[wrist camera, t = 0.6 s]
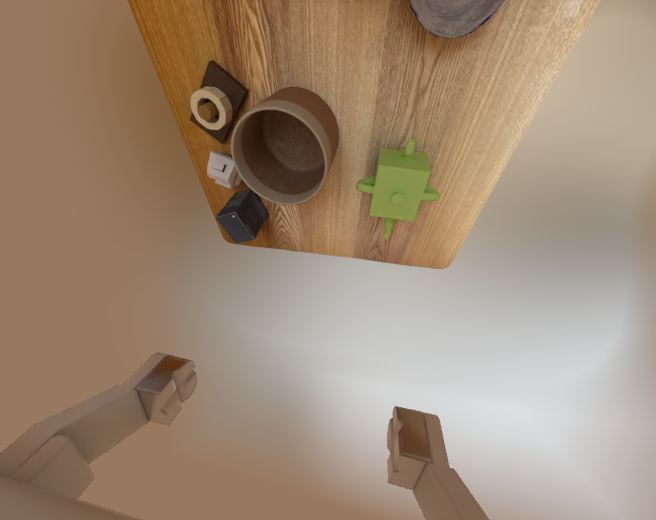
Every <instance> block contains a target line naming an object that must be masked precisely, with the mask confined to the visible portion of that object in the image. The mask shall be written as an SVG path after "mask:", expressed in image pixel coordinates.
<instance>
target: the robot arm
mask: <svg viewBox="0 0 656 520" xmlns="http://www.w3.org/2000/svg"><path fill="white" fill-rule="evenodd" d="M194 367H195V365H194V361H192V360H188V359H183V358H179V357H175V356H171V355H168V354H163V353H156V354H154V355H152V356H151V357H150V358H149V359H148V360H147V361H146V362H145V363H144V364H143V365H142V366H141V367H140V368H139V369H138V370H137V371H136V372H135V373H134V374H133V375H132V376H131V377H130V378H129V379H127V381H126V382H124V384H122V385H121V386H118V385H117V386H115V387H113V388H111V389H109V390H106V391H104V392H102V393H100V394H98V395H96V396H94V397H92V398H90V399H88V400H85V401H83V402H81V403H79V404H77V405H75V406H73V407H71V408H69V409H66V410H64V411H62V412H60V413H58V414H56V415H54V416H52V417H50V418H48V419H45V420H43V421H41V422H39V423H37V424H35V425H33V426H32V427H31V428H30V429H29V430H27V431H26V432H25V433H24V434H23V435H21V436H20V437H19V438H18V439H17V440H16V441H14V442H13V443H12V444H11V445H10V446H8V447H7V448H6V449H5V450H4V451H2V452H1V453H0V520H142V519H139V518H136V517H133V516H130V515H126V514H123V513H120V512H117V511H114V510H111V509H108V508H104V507H101V506H98V505H95V504H91V503H88V502H85V501H82V500H79V499H78V498H79V497H80V496H81V494H82V493H83V492H84V491H85V489H86V488H87V487H88V486H89V485H90V483H91V482H92V481H93V480H94V473H93V471H92V469H91V468H90V466H89V465H88V464H90V463H91V462H92V461H94V460H95V459H97V458H98V457H99V456H101V455H102V454H104V453H105V452H107V451H108V450H110V449H111V448H112V447H114V446H115V445H117V444H118V443H120V442H121V441H122V440H124V439H125V438H127V437H128V436H130V435H131V434H133V433H134V432H135V431H137V430H138V429H140V428H141V427H142V426H144V425H145V424H147V423H148V422H149V421H152V422H157V423H161V424H165V425H170V424H171V422H172V421H173V419H174V418H175V417H176V415H177V414H178V413H179V411H180V410H181V403H182V402H183V401H185V400H187V399H188V398H189V397H190V396H191V394H192V393H193V392H194V389H195V387H196V384H197V374H196V373H195V372H194V371H193V368H194ZM387 447H388V449H389V451H390V455H389V458H388V483H390V484H394V485H397V486H400V487H404V488H407V489H411V490H413V493H414V495H415V497H416V499H417V502H418V503H419V506H420V508H421V510H422V512H423V514H424V516H425V518H426V520H489V519H488V517H487V516H486V514H485V513H484V511H483V510H482V509H481V507H480V506H479V504H478V503H477V501H476V500H475V498H474V497H473V496H472V494H471V493H470V491H469V490H468V488H467V487H466V486H465V484H464V483H463V481H462V480H461V478H460V477H459V475H458V474H457V473H456V471H455V470H454V469H452V468H449V463H448V458H447V453H446V449H445V444H444V439H443V434H442V430H441V425H440V420H439V418H438V416H436V415H432V414H428V413H423V412H420V411H416V410H411V409H406V408H401V407H397V406H395V407H394V409H393V418H392V419H390V422H389V426H388V432H387Z"/></svg>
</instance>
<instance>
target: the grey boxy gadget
mask: <svg viewBox="0 0 656 520" xmlns="http://www.w3.org/2000/svg"><path fill="white" fill-rule="evenodd" d="M207 175H208V177H209V178H212V179H215V180H216V181H215V183H217V184H220V185H223V186H225V187H227V188H230V189H232V188H233V186H234V185H235V186H237V185H239V184H240V182H241V180H242V178H241V177H240V175H239V173H238V171H237V169H236V167H235V165H234V162H233V158H232V157H230V156H228V155H226V154H223V153H221V152H218V151H211V152H210V158H209V162H208V168H207Z"/></svg>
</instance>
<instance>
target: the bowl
mask: <svg viewBox="0 0 656 520" xmlns="http://www.w3.org/2000/svg"><path fill="white" fill-rule="evenodd" d="M409 1H410V6H411V9H412V11H413V13H414V15H415V17H416V18H417V20H418V22H419V23H420V24H421V25H422V27H423V28H424V29H425V30H427V31H428V32H429V33H431V34H432V35H434V36H436V37H440V38H445V39H455V38H458V37H462V36H465V35H468V34H470V33H471V32H473V31H474V30H475V29H477V28H478V27H479V26H481V25H482V24H484V23H485V22H486V21H487V20H488V19H489V18H490V17H491V16H492V15H493V14H494V13H496V11H497V10H498V9H499V7H500V6H501V5H502V3H503V2H504V1H505V0H409Z"/></svg>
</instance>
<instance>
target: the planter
mask: <svg viewBox="0 0 656 520" xmlns="http://www.w3.org/2000/svg"><path fill="white" fill-rule="evenodd" d="M337 146H338V127H337V123H336V119H335V117H334V115H333V113H332V111H331V109H330V108H329V106H328V105H327V104H326V103H325V102H324V101H323V100H322V99H321V98H320V97H319V96H318V95H316V94H315V93H313V92H311V91H309V90H306V89H303V88H298V87H289V88H284V89H281V90H279V91H277V92H275V93H274V94H272V95H271V96H270V97H268V98H267V99H266V100H264V101H263V102H261V103H260V104H259V105H257V106H256V107H254V108H253V109H252V110H250V111H249V112H248V113H246V114H245V115H244V116H243V117H242V118H241V119H240V120H239V121H238V123H237V124H236V126H235V128H234V131H233V134H232V139H231V153H232V158H233V162H234V165H235V167H236V169H237V171H238V173H239V175H240V177H241V178H242V180H243V181H244V182H245V183H246V185H247V186H248V187H249V188H250V189H251V190H253V191H254V192H255V193H256V194H258V195H259V196H261V197H262V198H264V199H266V200H268V201H271V202H274V203H277V204H282V205H295V204H300V203H303V202H306V201H308V200H309V199H311V198H312V197H314V196H315V195H316V194H317V193H318V192H319V190H320V189H321V188H322V186H323V184H324V182H325V179H326V176H327V174H328V171H329V168H330V166H331V163H332V160H333V158H334V155H335V152H336V149H337Z"/></svg>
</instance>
